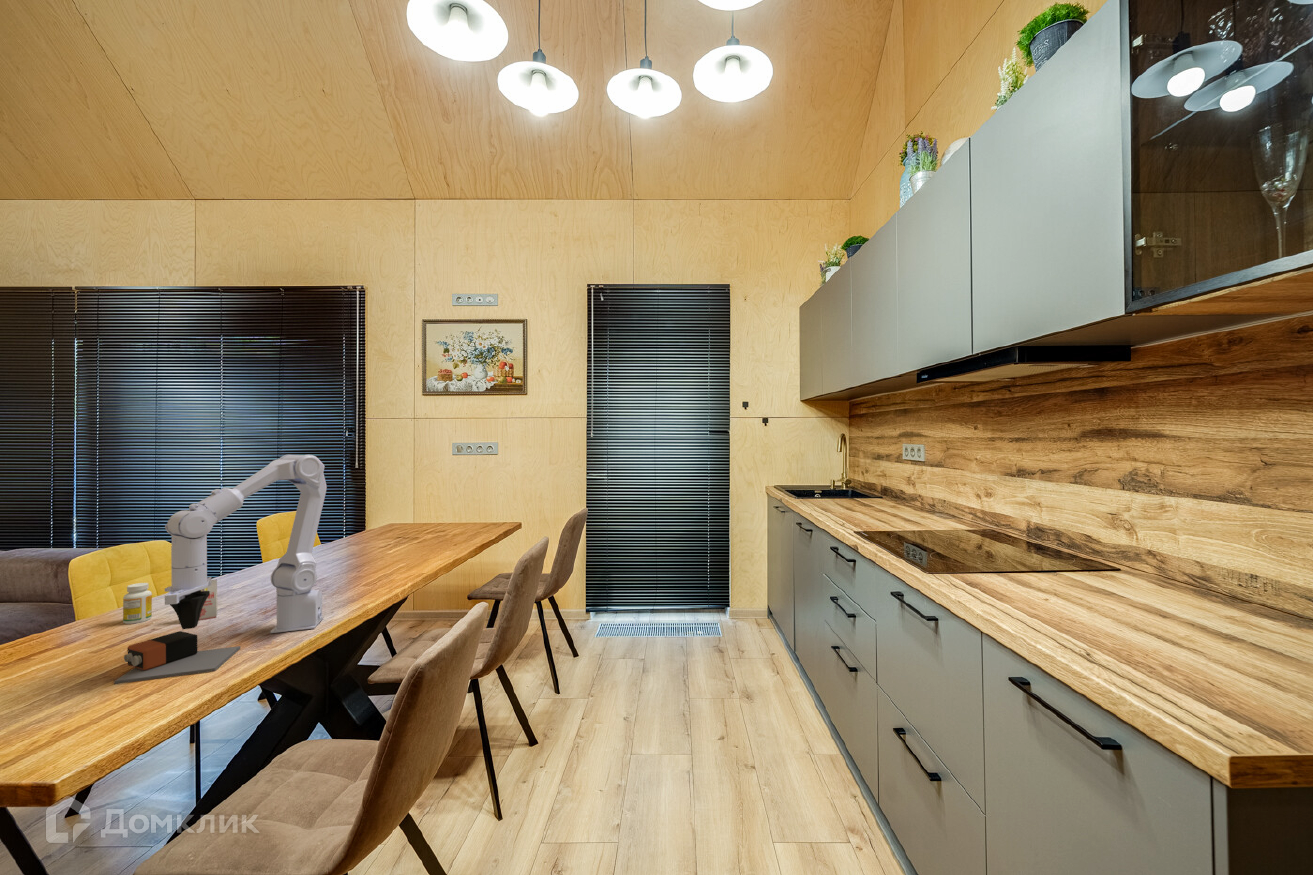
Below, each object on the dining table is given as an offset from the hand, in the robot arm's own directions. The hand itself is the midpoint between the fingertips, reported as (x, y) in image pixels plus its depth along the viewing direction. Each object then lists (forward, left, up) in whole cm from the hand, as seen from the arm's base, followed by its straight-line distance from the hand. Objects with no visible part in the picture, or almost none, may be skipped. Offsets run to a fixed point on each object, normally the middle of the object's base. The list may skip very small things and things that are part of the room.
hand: (189, 627), depth 110 cm
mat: (0, +3, -7) cm, 8 cm away
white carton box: (+11, -31, -7) cm, 34 cm away
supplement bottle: (+26, -35, -7) cm, 44 cm away
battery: (+1, -3, -4) cm, 5 cm away
